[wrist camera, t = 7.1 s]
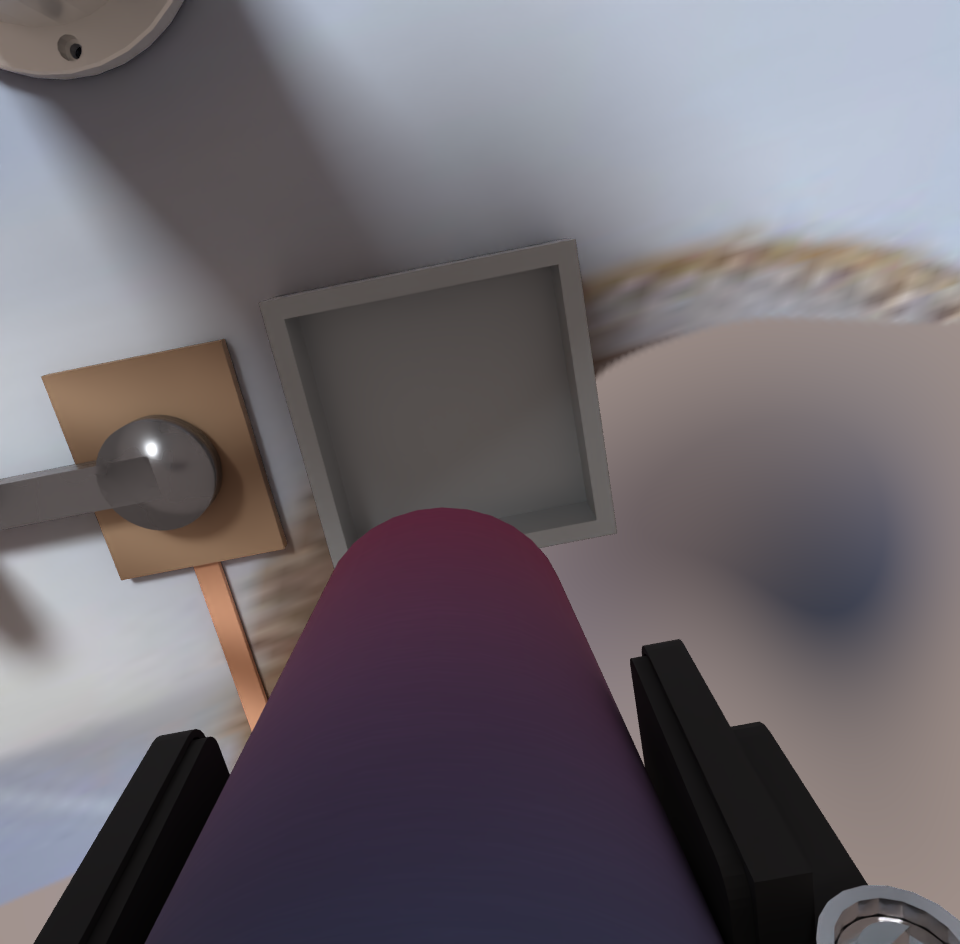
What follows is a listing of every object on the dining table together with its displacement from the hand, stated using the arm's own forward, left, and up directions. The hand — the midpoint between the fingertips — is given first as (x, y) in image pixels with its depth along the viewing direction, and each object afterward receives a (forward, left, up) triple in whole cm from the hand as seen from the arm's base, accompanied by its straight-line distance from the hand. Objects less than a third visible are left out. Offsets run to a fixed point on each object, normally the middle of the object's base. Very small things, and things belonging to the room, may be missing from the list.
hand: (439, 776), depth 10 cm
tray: (0, 0, -23) cm, 23 cm away
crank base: (+5, -13, -23) cm, 27 cm away
